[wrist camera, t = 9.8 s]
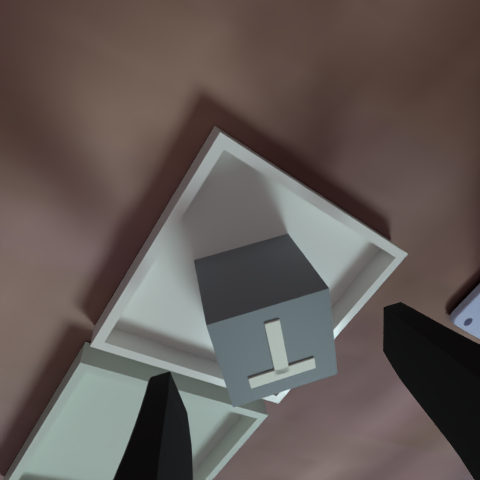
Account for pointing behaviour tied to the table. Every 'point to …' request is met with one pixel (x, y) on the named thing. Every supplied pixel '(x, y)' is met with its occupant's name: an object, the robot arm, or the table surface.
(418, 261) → the table surface
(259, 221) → the tray
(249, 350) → the letter cube
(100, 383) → the tray
